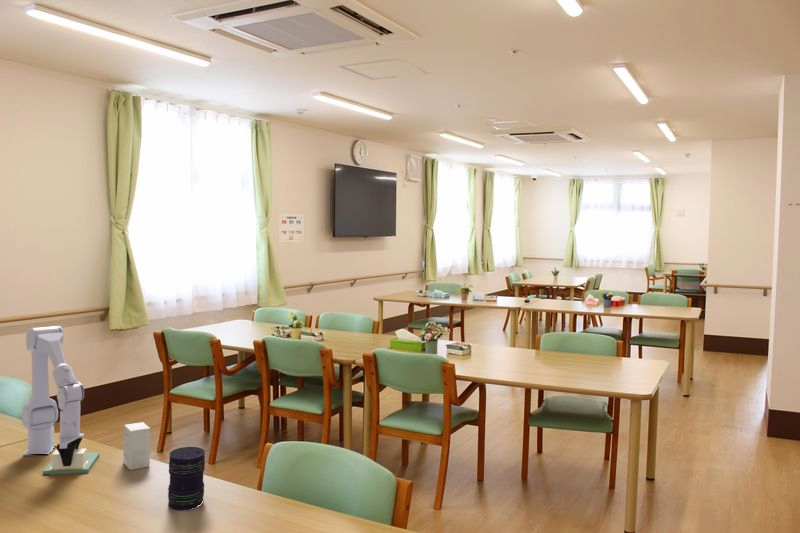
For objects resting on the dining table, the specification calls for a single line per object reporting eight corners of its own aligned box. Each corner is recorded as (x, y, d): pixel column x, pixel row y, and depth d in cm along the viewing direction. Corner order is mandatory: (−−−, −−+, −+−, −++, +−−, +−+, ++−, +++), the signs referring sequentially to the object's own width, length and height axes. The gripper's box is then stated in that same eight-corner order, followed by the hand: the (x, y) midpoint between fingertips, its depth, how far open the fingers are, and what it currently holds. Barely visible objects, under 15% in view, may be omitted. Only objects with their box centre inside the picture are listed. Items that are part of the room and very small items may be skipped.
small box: (149, 466, 202) (150, 428, 201) (129, 470, 198) (130, 431, 197) (142, 459, 208) (143, 421, 208) (122, 462, 204) (123, 424, 204)
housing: (56, 463, 198) (56, 449, 198) (86, 461, 200) (86, 448, 200) (51, 468, 194) (52, 454, 193) (82, 467, 196) (83, 453, 196)
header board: (57, 457, 206) (57, 446, 206) (99, 455, 209) (99, 445, 209) (42, 474, 192) (42, 462, 191) (87, 472, 195) (88, 461, 194)
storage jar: (165, 512, 171) (167, 459, 170) (169, 497, 180) (170, 447, 179) (203, 509, 173) (204, 457, 172) (204, 494, 183) (206, 445, 182)
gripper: (77, 428, 190) (76, 470, 191) (89, 414, 204) (88, 454, 205) (52, 428, 188) (51, 471, 189) (66, 415, 203) (65, 455, 203)
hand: (69, 462), depth 197 cm, fingers closed on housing, 4 cm apart
